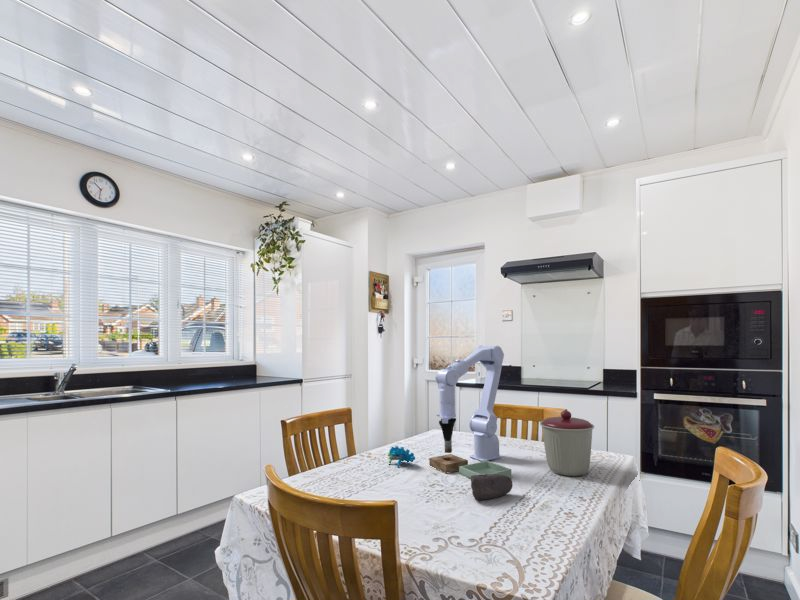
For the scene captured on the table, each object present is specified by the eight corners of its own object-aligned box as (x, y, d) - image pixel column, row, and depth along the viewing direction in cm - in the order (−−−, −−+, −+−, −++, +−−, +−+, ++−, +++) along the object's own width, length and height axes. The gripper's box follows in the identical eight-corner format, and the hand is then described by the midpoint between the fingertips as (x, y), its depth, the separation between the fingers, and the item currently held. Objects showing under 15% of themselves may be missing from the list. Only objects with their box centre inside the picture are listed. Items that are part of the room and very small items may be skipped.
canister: (536, 475, 149) (534, 413, 150) (545, 461, 165) (543, 405, 166) (594, 483, 140) (591, 417, 142) (598, 468, 156) (595, 408, 158)
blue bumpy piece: (420, 459, 164) (407, 444, 159) (415, 474, 160) (402, 458, 155) (396, 459, 170) (383, 444, 165) (391, 473, 166) (378, 458, 161)
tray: (487, 467, 158) (487, 460, 158) (511, 476, 148) (511, 469, 148) (459, 474, 151) (459, 466, 152) (482, 484, 141) (482, 476, 141)
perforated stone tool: (508, 491, 135) (507, 468, 135) (518, 497, 130) (517, 473, 130) (465, 497, 130) (464, 474, 130) (473, 504, 125) (473, 479, 125)
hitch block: (450, 461, 166) (450, 453, 166) (468, 468, 157) (467, 460, 158) (429, 466, 161) (429, 458, 161) (445, 473, 152) (445, 464, 152)
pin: (448, 450, 161) (448, 428, 162) (453, 452, 159) (452, 429, 160) (443, 451, 160) (442, 429, 160) (447, 453, 158) (447, 430, 158)
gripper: (439, 398, 169) (440, 434, 168) (433, 405, 155) (434, 444, 154) (457, 399, 167) (458, 435, 166) (453, 405, 153) (454, 444, 152)
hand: (448, 439), depth 160 cm, fingers closed on pin, 3 cm apart
